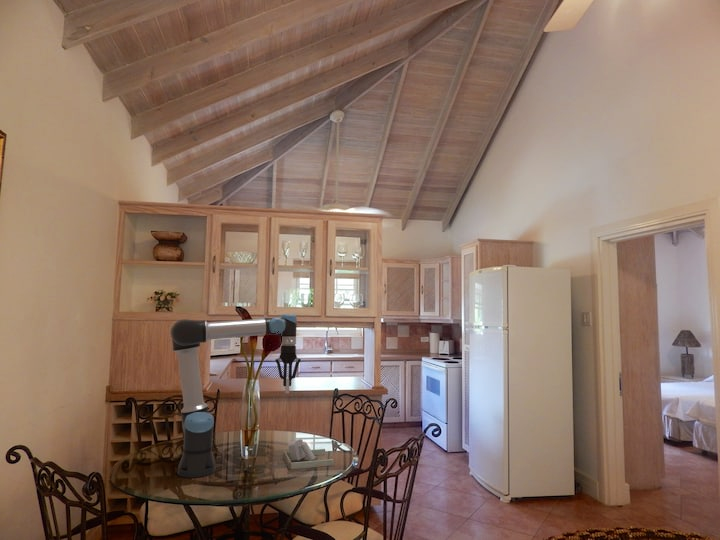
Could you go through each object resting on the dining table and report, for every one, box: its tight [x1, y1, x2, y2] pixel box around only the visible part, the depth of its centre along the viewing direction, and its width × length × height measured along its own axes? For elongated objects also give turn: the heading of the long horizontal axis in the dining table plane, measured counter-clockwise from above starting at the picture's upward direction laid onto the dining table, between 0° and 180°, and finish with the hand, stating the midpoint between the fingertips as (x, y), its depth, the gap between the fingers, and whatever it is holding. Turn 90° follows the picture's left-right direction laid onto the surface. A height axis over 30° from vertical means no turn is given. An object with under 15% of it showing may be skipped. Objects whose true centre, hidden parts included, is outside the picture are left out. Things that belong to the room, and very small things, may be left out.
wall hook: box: [287, 438, 316, 462], centre depth 202 cm, size 8×10×10 cm
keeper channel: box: [283, 448, 335, 470], centre depth 201 cm, size 20×18×3 cm
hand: (287, 392), depth 218 cm, fingers closed
